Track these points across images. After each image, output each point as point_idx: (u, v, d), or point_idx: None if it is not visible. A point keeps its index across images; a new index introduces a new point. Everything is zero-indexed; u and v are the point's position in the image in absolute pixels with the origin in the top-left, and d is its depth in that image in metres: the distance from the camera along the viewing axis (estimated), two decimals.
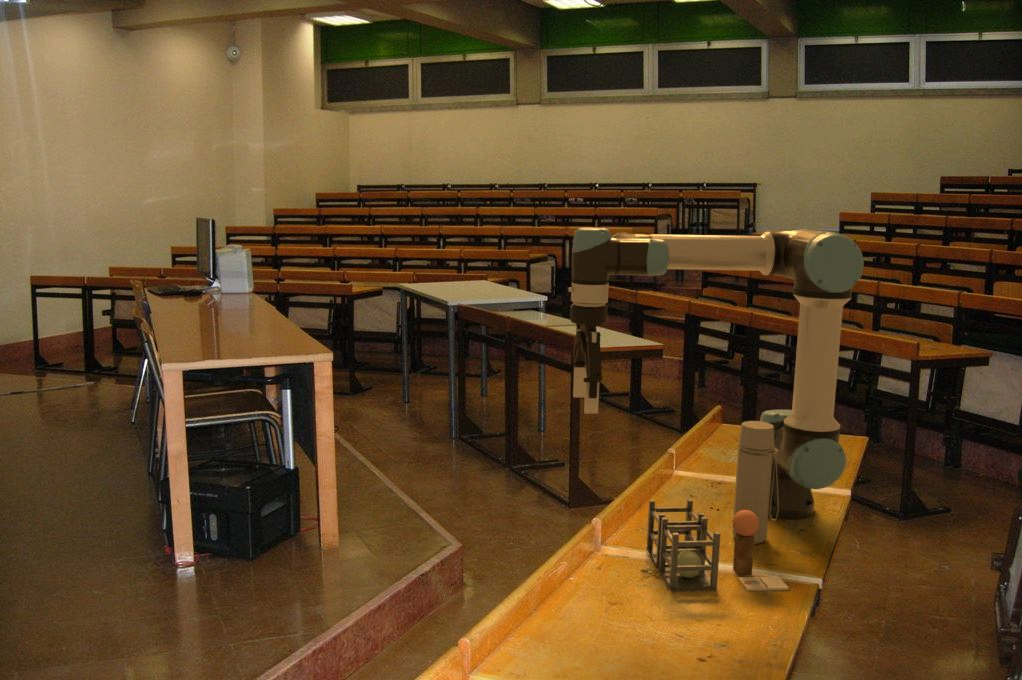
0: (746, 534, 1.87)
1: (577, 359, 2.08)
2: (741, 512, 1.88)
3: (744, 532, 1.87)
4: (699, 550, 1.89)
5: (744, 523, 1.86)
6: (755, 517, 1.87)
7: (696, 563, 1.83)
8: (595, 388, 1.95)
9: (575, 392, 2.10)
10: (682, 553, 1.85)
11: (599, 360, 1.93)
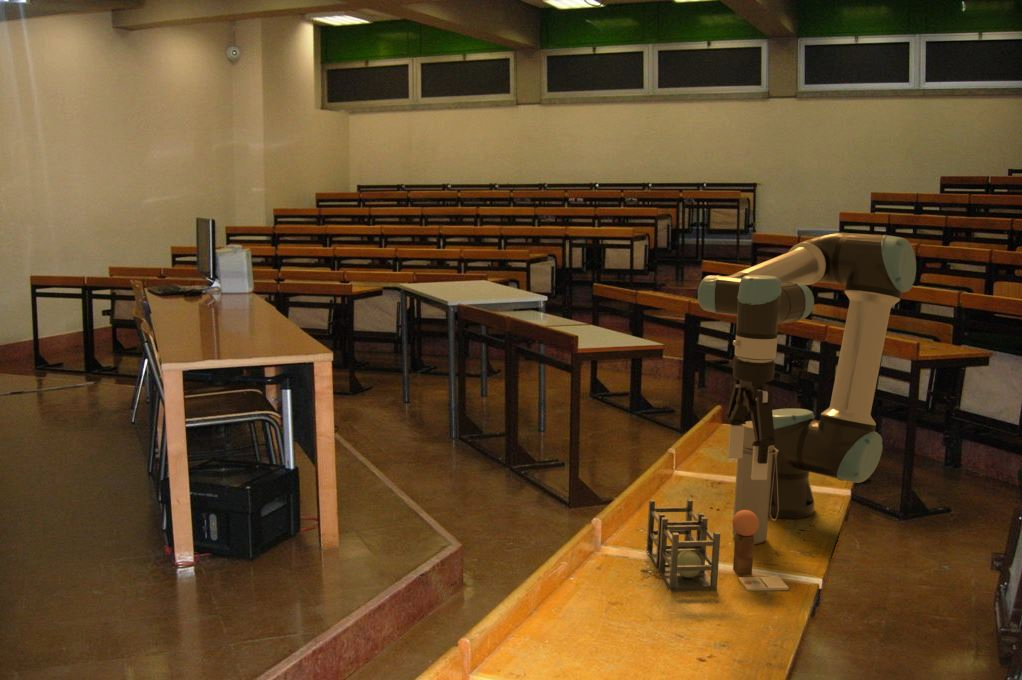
0: (746, 534, 1.87)
1: (734, 417, 1.90)
2: (741, 512, 1.88)
3: (744, 532, 1.87)
4: (699, 550, 1.89)
5: (744, 523, 1.86)
6: (755, 517, 1.87)
7: (696, 563, 1.83)
8: (766, 453, 1.77)
9: (730, 452, 1.92)
10: (682, 553, 1.85)
11: (771, 422, 1.76)
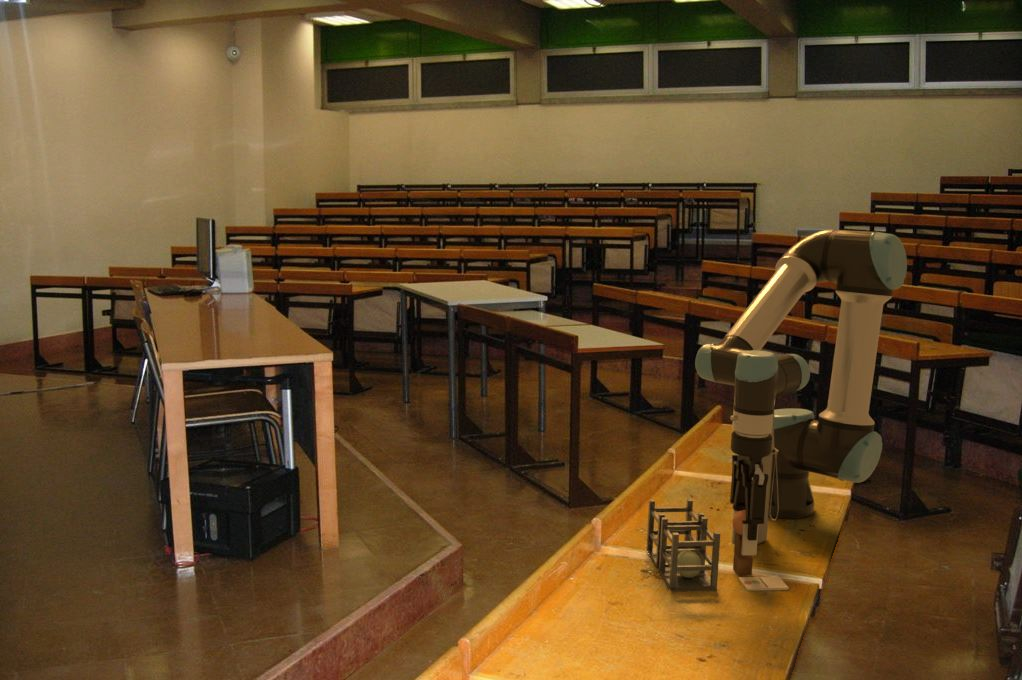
0: None
1: (737, 499, 1.90)
2: (741, 512, 1.88)
3: None
4: (699, 550, 1.89)
5: None
6: None
7: (696, 563, 1.83)
8: (755, 530, 1.84)
9: None
10: (682, 553, 1.85)
11: (763, 504, 1.82)
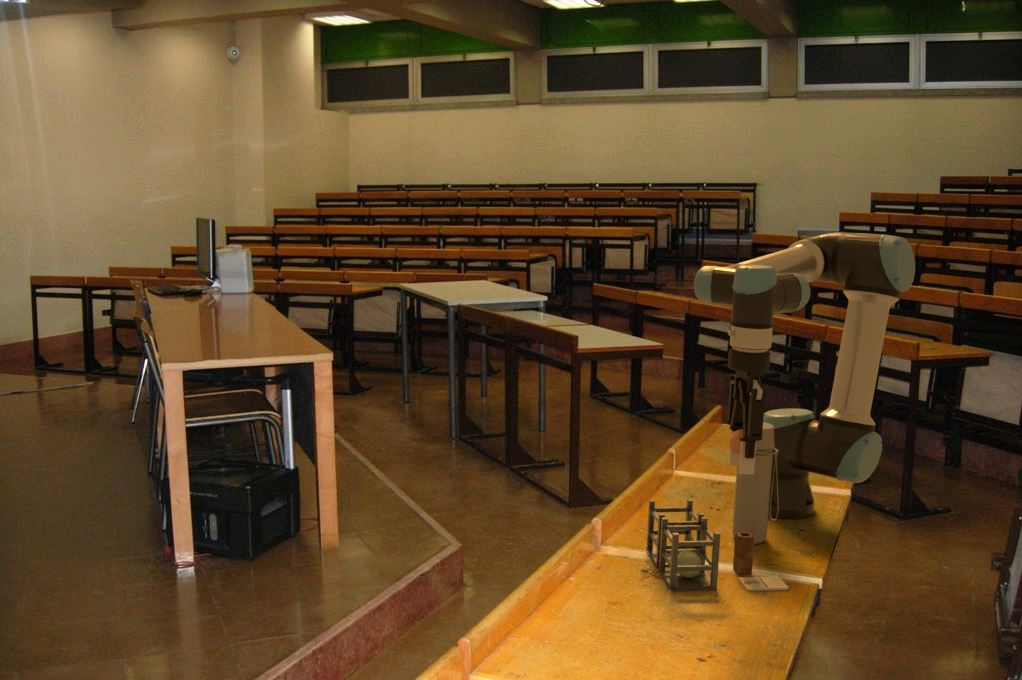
0: None
1: (735, 419, 1.87)
2: (738, 431, 1.84)
3: None
4: (699, 550, 1.89)
5: None
6: None
7: (696, 563, 1.83)
8: (753, 448, 1.81)
9: (732, 459, 1.88)
10: (682, 553, 1.85)
11: (761, 419, 1.78)
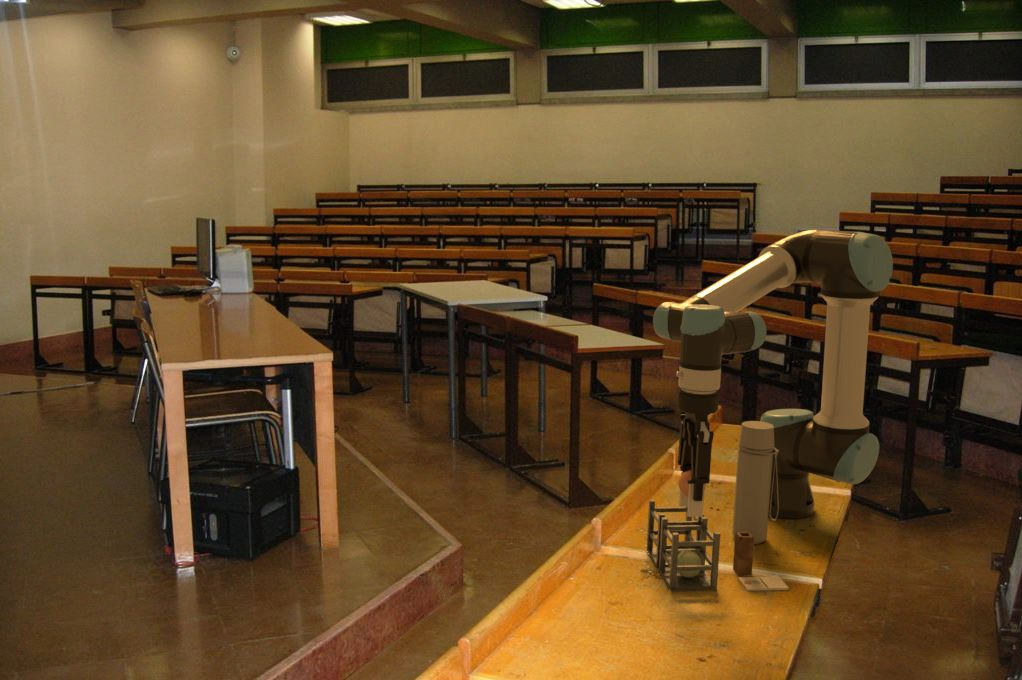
0: None
1: (684, 460, 1.84)
2: (687, 472, 1.81)
3: None
4: (699, 550, 1.89)
5: None
6: None
7: (696, 563, 1.83)
8: (701, 490, 1.78)
9: (682, 501, 1.85)
10: (682, 553, 1.85)
11: (709, 462, 1.75)
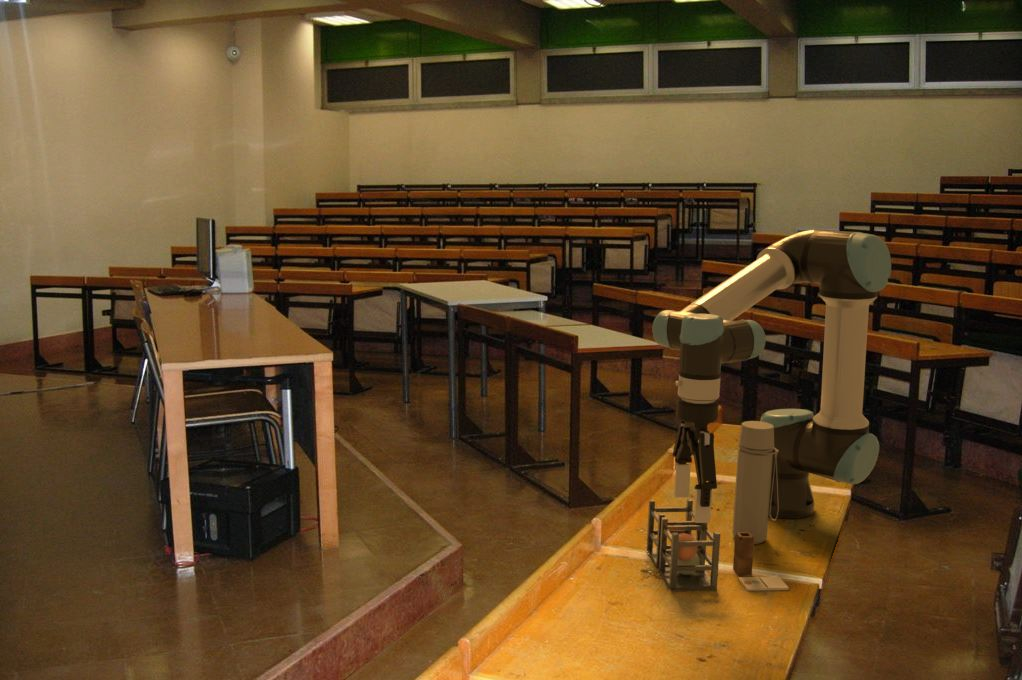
0: None
1: (680, 456, 1.87)
2: (679, 555, 1.81)
3: None
4: (699, 550, 1.89)
5: None
6: (694, 554, 1.81)
7: None
8: (708, 496, 1.74)
9: (677, 492, 1.89)
10: None
11: (713, 465, 1.73)
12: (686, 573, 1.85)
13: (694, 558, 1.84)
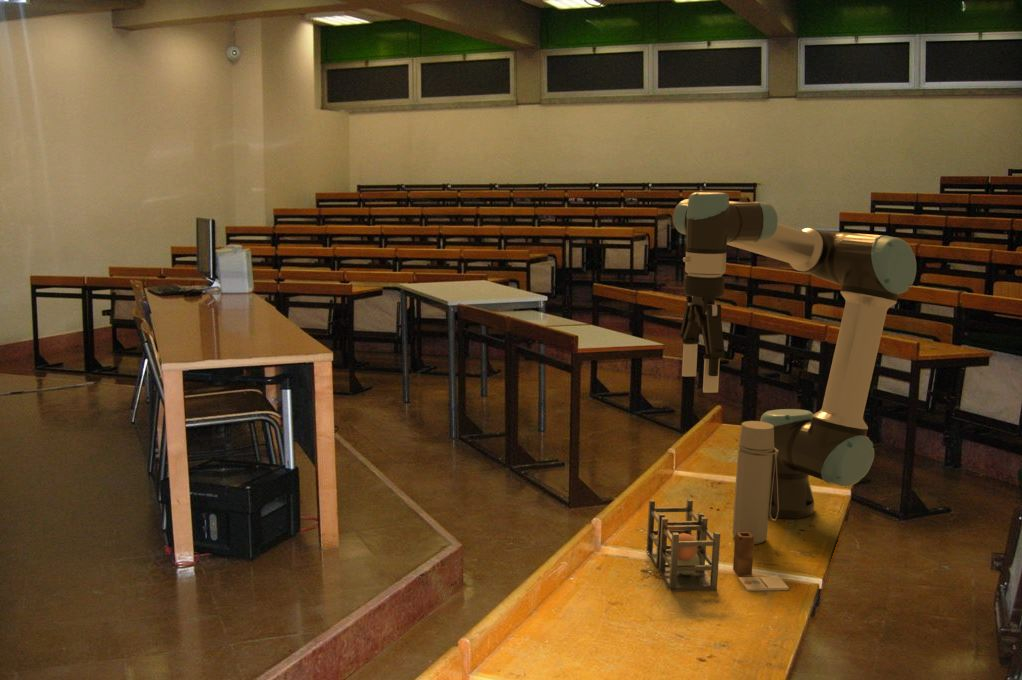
0: None
1: (687, 335, 1.93)
2: (679, 555, 1.81)
3: None
4: (699, 550, 1.89)
5: None
6: (694, 554, 1.81)
7: None
8: (716, 365, 1.80)
9: (684, 371, 1.95)
10: None
11: (721, 335, 1.79)
12: (686, 573, 1.85)
13: (694, 558, 1.84)
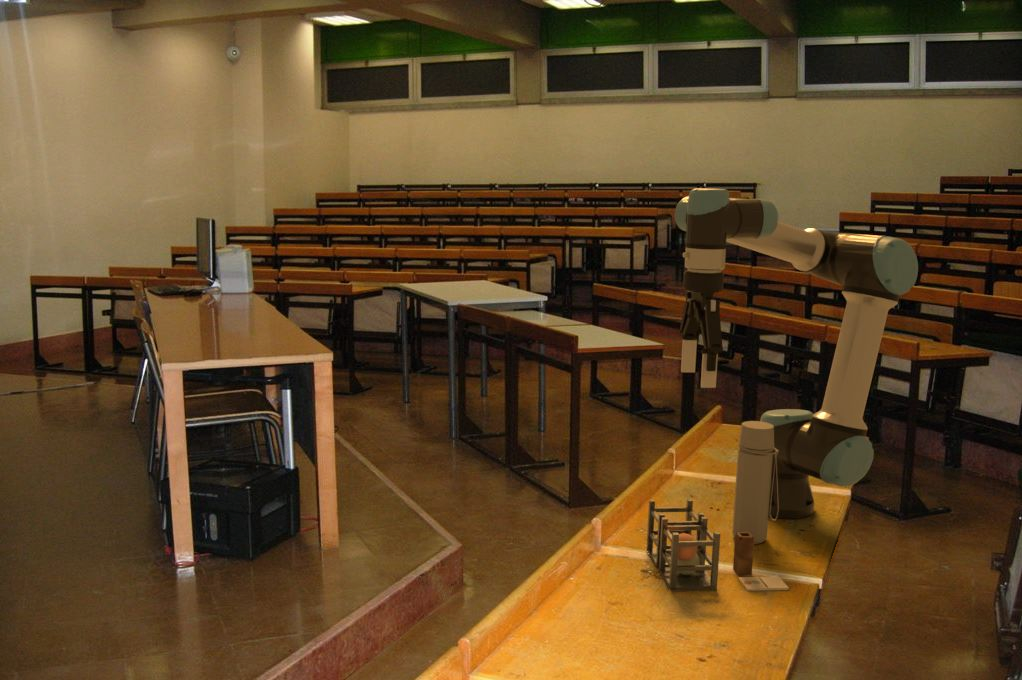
0: None
1: (687, 331, 1.94)
2: (679, 555, 1.81)
3: None
4: (699, 550, 1.89)
5: None
6: (694, 554, 1.81)
7: None
8: (714, 360, 1.81)
9: (683, 367, 1.96)
10: None
11: (719, 330, 1.79)
12: (686, 573, 1.85)
13: (694, 558, 1.84)
